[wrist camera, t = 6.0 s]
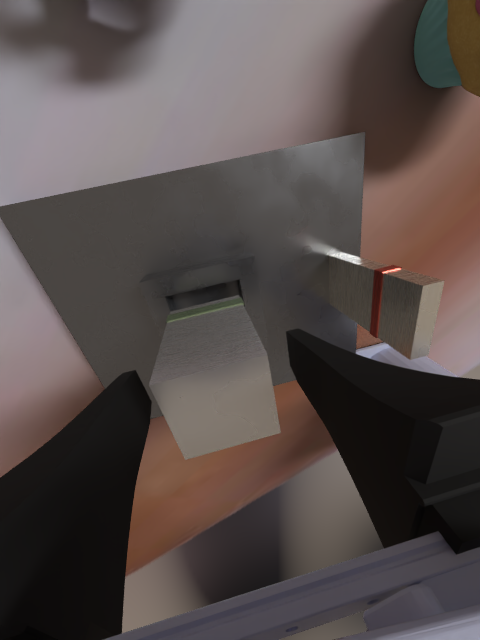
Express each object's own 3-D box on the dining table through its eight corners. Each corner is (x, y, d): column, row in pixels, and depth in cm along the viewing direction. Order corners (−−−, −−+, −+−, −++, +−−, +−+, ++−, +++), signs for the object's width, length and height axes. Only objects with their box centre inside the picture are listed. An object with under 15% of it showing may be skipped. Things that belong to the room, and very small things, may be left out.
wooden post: (251, 351, 15) (282, 433, 9) (189, 367, 15) (184, 461, 9) (239, 293, 13) (268, 352, 8) (169, 310, 13) (146, 384, 7)
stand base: (349, 357, 23) (430, 436, 15) (130, 416, 22) (89, 537, 14) (355, 136, 15) (537, 47, 7) (8, 208, 14) (-268, 200, 6)
